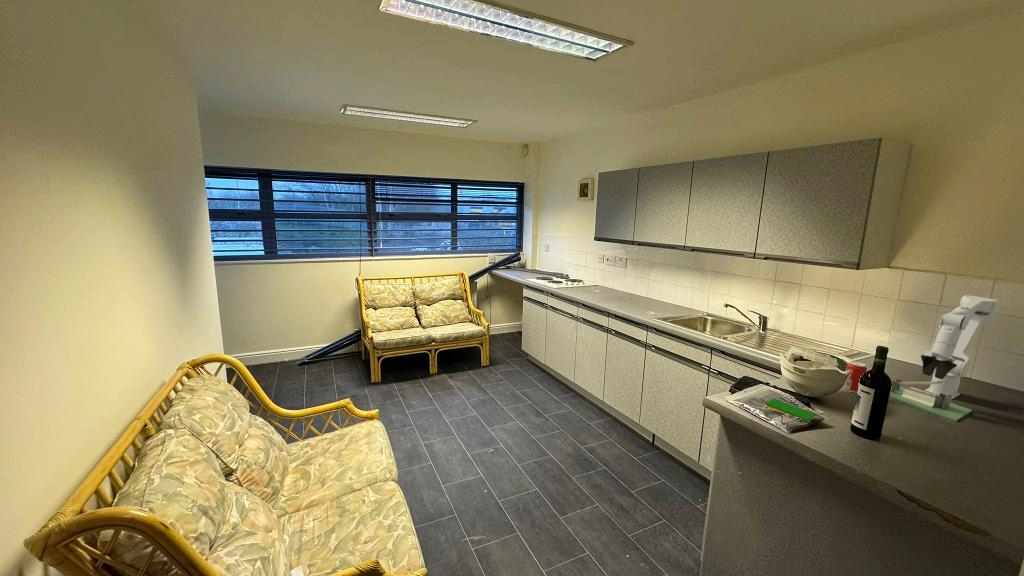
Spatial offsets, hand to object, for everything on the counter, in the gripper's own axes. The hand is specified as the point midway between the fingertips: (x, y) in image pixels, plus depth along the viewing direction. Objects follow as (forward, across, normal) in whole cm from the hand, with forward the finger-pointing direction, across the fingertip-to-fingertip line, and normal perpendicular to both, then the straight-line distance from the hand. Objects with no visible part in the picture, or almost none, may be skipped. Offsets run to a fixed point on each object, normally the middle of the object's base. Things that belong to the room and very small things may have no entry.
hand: (932, 376), depth 155 cm
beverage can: (+15, -16, +15) cm, 26 cm away
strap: (+4, -1, +2) cm, 5 cm away
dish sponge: (+28, -57, +6) cm, 64 cm away
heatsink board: (+11, +1, +1) cm, 11 cm away
